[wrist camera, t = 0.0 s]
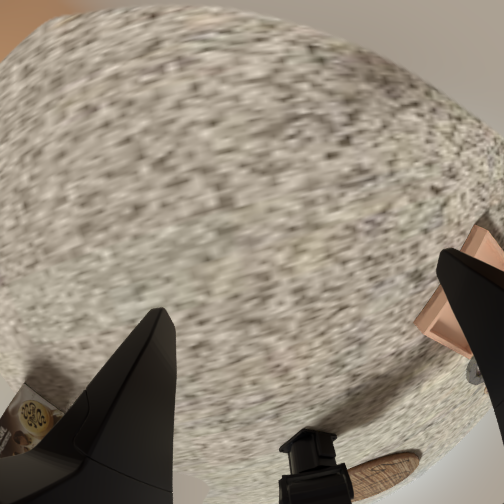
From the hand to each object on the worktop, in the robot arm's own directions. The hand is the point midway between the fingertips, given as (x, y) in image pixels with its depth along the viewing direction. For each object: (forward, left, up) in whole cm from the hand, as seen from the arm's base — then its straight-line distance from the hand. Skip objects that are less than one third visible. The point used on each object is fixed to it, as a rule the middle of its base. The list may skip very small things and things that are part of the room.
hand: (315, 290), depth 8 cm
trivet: (-39, -49, -16) cm, 65 cm away
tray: (+4, -27, -15) cm, 32 cm away
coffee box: (-46, +18, -16) cm, 52 cm away
